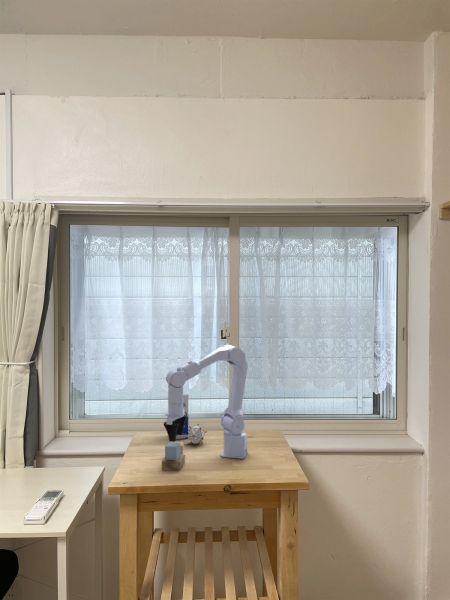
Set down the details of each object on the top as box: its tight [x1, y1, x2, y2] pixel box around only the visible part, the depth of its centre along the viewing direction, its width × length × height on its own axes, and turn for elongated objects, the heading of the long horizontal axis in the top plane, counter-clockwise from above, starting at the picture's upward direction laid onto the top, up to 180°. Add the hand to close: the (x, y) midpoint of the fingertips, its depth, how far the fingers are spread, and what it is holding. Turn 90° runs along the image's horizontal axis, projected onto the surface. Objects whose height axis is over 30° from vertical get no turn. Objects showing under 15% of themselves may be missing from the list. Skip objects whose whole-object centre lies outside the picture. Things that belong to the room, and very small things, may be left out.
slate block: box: [164, 441, 180, 460], centre depth 162 cm, size 4×4×5 cm
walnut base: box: [161, 454, 186, 472], centre depth 161 cm, size 7×7×4 cm
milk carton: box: [174, 394, 189, 440], centre depth 195 cm, size 7×7×20 cm
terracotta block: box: [175, 441, 185, 455], centre depth 172 cm, size 4×4×5 cm
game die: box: [185, 423, 208, 447], centre depth 185 cm, size 9×8×10 cm
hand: (175, 437), depth 162 cm, fingers open, 7 cm apart
